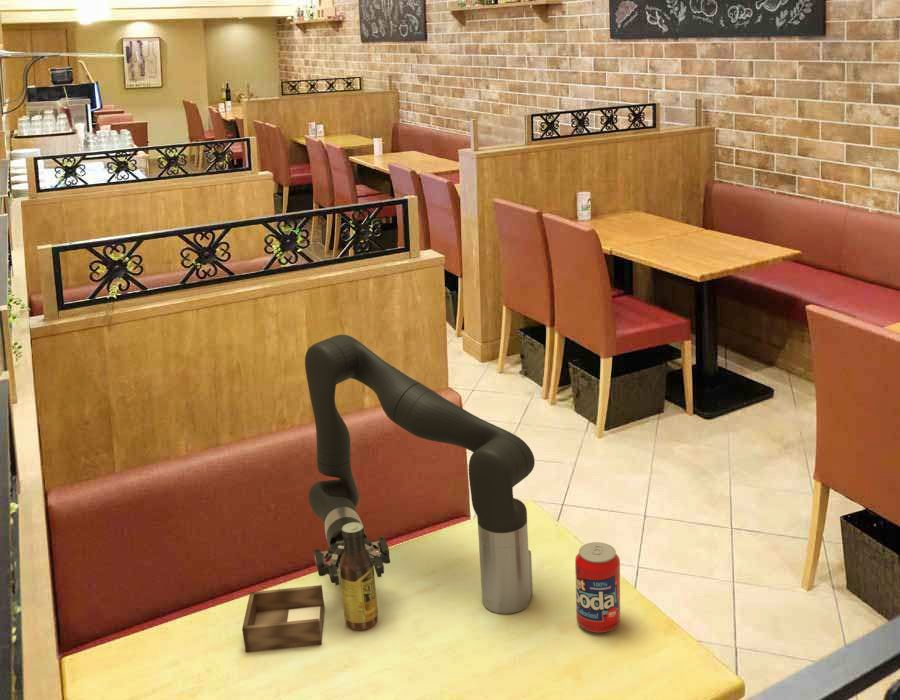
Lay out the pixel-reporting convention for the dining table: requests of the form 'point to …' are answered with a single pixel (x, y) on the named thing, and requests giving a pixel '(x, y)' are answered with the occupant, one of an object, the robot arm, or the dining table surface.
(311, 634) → the box
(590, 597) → the soda can
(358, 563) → the sauce bottle
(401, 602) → the dining table surface
